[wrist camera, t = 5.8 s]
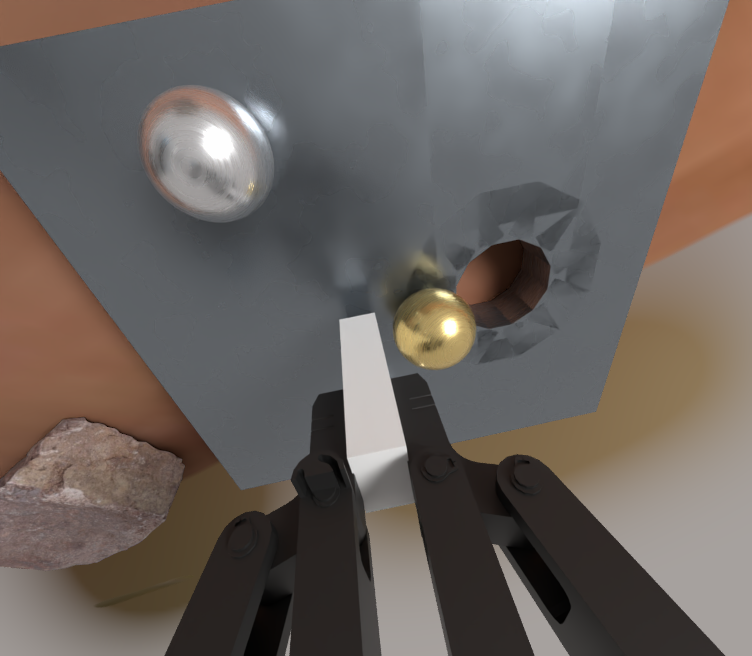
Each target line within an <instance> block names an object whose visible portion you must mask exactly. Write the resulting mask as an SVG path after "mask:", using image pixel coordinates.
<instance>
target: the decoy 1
mask: <svg viewBox="0 0 752 656" xmlns="http://www.w3.org/2000/svg"><path fill="white" fill-rule="evenodd" d="M137 143H138V151H139V156H140V160H141V163H142V166H143V168H144V170H145V172H146V174H147V176H148V178H149V180H150V181H151V183H152V184H153V186H154V187H155V188H156V190H157V191H158V192H159V193H160V194H161V195H162V196H163V197H164V198H165V199H166V200H167V201H168V202H169V203H170V204H172V205H173V206H174V207H176V208H177V209H179V210H180V211H182V212H183V213H185V214H187V215H190V216H192V217H194V218H197V219H200V220H204V221H209V222H217V223H222V222H232V221H236V220H239V219H242V218H244V217H247V216H248V215H250V214H252V213H253V212H254V211H256V210H257V209H258V208H259V207H260V206H261V205H262V204H263V202H264V201H265V200H266V198H267V196H268V194H269V192H270V190H271V187H272V183H273V178H274V158H273V153H272V149H271V146H270V143H269V140H268V138H267V136H266V134H265V132H264V130H263V128H262V127H261V125H260V124H259V122H258V121H257V119H256V118H255V117H254V116H253V114H252V113H251V112H250V111H249V110H248V109H247V108H246V107H245V106H243V105H242V104H241V103H240V102H238V101H237V100H235V99H234V98H232V97H231V96H229V95H227V94H225V93H223V92H221V91H219V90H216V89H213V88H210V87H206V86H201V85H183V86H177V87H174V88H170V89H168V90H166V91H164V92H162V93H161V94H159V95H158V96H157V97H155V98H154V99H153V100H152V101H151V102H150V103H149V104H148V106H147V107H146V109H145V111H144V112H143V115H142V117H141V120H140V123H139V127H138V135H137Z"/></svg>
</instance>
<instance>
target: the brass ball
mask: <svg viewBox="0 0 752 656" xmlns="http://www.w3.org/2000/svg"><path fill="white" fill-rule="evenodd" d="M393 337H394V341H395V344H396V346H397V348H398V350H399V352H400V353H401V354H402V355H403V357H404V358H405V359H407V360H408V361H409V362H410V363H412V364H413V365H415V366H417V367H420V368H423V369H427V370H442V369H446V368H449V367H452V366H454V365H456V364H457V363H459V362H460V361H461V360H463V359H464V358H465V357H466V355H467V354H468V353H469V352H470V350H471V348H472V346H473V344H474V341H475V337H476V322H475V317H474V315H473V312H472V310H471V308H470V307H469V305H468V304H467V303H466V302H465V301H464V300H463V299H462V298H461V297H460V296H458V295H457V294H455V293H453V292H451V291H449V290H446V289H441V288H428V289H423V290H420V291H418V292H415V293H414V294H412V295H410V296H409V297H408V298H407V299H405V300H404V302H403V303H402V304H401V305H400V307H399V308H398V310H397V312H396V314H395V317H394V321H393Z"/></svg>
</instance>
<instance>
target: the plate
mask: <svg viewBox="0 0 752 656" xmlns="http://www.w3.org/2000/svg"><path fill="white" fill-rule="evenodd" d="M728 3H729V0H234V1H229V2H224V3H219V4H214V5H209V6H204V7H198V8H193V9H188V10H183V11H178V12H173V13H168V14H163V15H158V16H153V17H148V18H143V19H138V20H132V21H127V22H122V23H117V24H112V25H107V26H102V27H97V28H92V29H87V30H82V31H77V32H72V33H66V34H61V35H56V36H51V37H46V38H41V39H36V40H31V41H26V42H21V43H16V44H11V45H6V46H0V170H1V172H2V173H3V174H4V176H5V177H6V178H7V180H8V181H9V182H10V184H11V185H12V186H13V188H14V189H15V190H16V192H17V193H18V194H19V196H20V197H21V198H22V200H23V201H24V202H25V203H26V205H27V206H28V207H29V209H30V210H31V211H32V213H33V214H34V215H35V217H36V218H37V219H38V221H39V222H40V223H41V225H42V226H43V227H44V229H45V230H46V231H47V233H48V234H49V235H50V237H51V238H52V239H53V241H54V242H55V243H56V245H57V246H58V247H59V249H60V250H61V251H62V253H63V254H64V255H65V257H66V258H67V259H68V261H69V262H70V263H71V265H72V266H73V267H74V269H75V270H76V271H77V273H78V274H79V275H80V277H81V278H82V279H83V281H84V282H85V283H86V285H87V286H88V287H89V289H90V290H91V291H92V293H93V294H94V295H95V297H96V298H97V299H98V301H99V302H100V303H101V305H102V306H103V307H104V309H105V310H106V311H107V313H108V314H109V315H110V317H111V318H112V319H113V320H114V322H115V323H116V324H117V326H118V327H119V328H120V330H121V331H122V332H123V334H124V335H125V336H126V338H127V339H128V340H129V342H130V343H131V344H132V346H133V347H134V348H135V350H136V351H137V352H138V354H139V355H140V356H141V358H142V359H143V360H144V362H145V363H146V364H147V366H148V367H149V368H150V370H151V371H152V372H153V374H154V375H155V376H156V378H157V379H158V380H159V382H160V383H161V384H162V386H163V387H164V388H165V390H166V391H167V392H168V394H169V395H170V396H171V398H172V399H173V400H174V402H175V403H176V404H177V406H178V407H179V408H180V410H181V411H182V412H183V414H184V415H185V416H186V418H187V419H188V420H189V422H190V423H191V424H192V426H193V427H194V428H195V430H196V431H197V432H198V434H199V435H200V436H201V438H202V439H203V440H204V441H205V443H206V444H207V445H208V447H209V448H210V449H211V451H212V452H213V453H214V455H215V456H216V457H217V459H218V460H219V461H220V463H221V464H222V465H223V467H224V468H225V469H226V470H227V472H228V473H229V475H230V476H231V477H232V479H233V480H234V481H235V483H236V484H237V485H238V487H239V488H240V489H241V490H244V489H248V488H253V487H257V486H262V485H266V484H271V483H276V482H280V481H285V480H289V479H291V477H292V473H293V470H294V469H295V467H296V466H297V464H298V463H299V462H300V461H301V460H302V459H303V458H304V457H306V456H307V455H308V454H310V439H311V422H312V406H313V404H314V402H315V400H316V398H317V397H318V395H319V394H322V393H327V392H332V391H337V390H342V389H343V376H342V358H341V340H340V322H339V320H340V319H345V318H350V317H355V316H360V315H365V314H370V313H375V316H376V320H377V324H378V329H379V333H380V337H381V341H382V346H383V350H384V354H385V358H386V362H387V367H388V371H389V375H390V379H391V378H396V377H401V376H406V375H410V374H415V373H418V374H419V375H420V376H421V377H422V378H423V379H424V380H425V381H426V382H427V383H428V386H429V389H430V391H431V395H432V397H433V400H434V402H435V406H436V408H437V410H438V413H439V416H440V418H441V421H442V424H443V426H444V429H445V432H446V435H447V437H448V440H449V442H450V444H452V443H456V442H460V441H465V440H470V439H474V438H479V437H483V436H488V435H492V434H497V433H501V432H505V431H510V430H515V429H519V428H524V427H528V426H533V425H537V424H542V423H546V422H550V421H555V420H560V419H564V418H569V417H573V416H578V415H582V414H587V413H591V412H596V410H597V407H598V404H599V401H600V397H601V395H602V391H603V388H604V385H605V382H606V379H607V376H608V373H609V370H610V367H611V363H612V360H613V358H614V354H615V351H616V348H617V345H618V342H619V339H620V336H621V332H622V329H623V327H624V323H625V320H626V317H627V314H628V311H629V308H630V305H631V302H632V299H633V296H634V292H635V290H636V287H637V283H638V280H639V277H640V274H641V271H642V268H643V265H644V262H645V259H646V256H647V253H648V249H649V246H650V243H651V240H652V237H653V234H654V231H655V228H656V225H657V222H658V219H659V216H660V212H661V209H662V206H663V203H664V200H665V197H666V194H667V191H668V188H669V185H670V182H671V179H672V175H673V172H674V169H675V166H676V163H677V160H678V157H679V154H680V151H681V148H682V145H683V141H684V138H685V135H686V132H687V129H688V126H689V123H690V120H691V117H692V114H693V111H694V108H695V104H696V101H697V98H698V95H699V92H700V89H701V86H702V83H703V80H704V77H705V74H706V71H707V67H708V64H709V61H710V58H711V55H712V52H713V49H714V46H715V43H716V40H717V37H718V33H719V30H720V27H721V24H722V21H723V18H724V15H725V12H726V9H727V6H728ZM183 85H201V86H206V87H210V88H213V89H216V90H219V91H221V92H223V93H225V94H227V95H229V96H231V97H232V98H234V99H235V100H237V101H238V102H240V103H241V104H242V105H243V106H245V107H246V108H247V109H248V110H249V111H250V112H251V113H252V114H253V116H254V117H255V118H256V119H257V121H258V122H259V124H260V125H261V127H262V128H263V130H264V132H265V134H266V136H267V138H268V140H269V143H270V146H271V149H272V153H273V158H274V178H273V183H272V187H271V190H270V192H269V194H268V196H267V198H266V200H265V201H264V202H263V204H262V205H261V206H260V207H259V208H258V209H257V210H256V211H254V212H253V213H252V214H250V215H248V216H247V217H244V218H242V219H239V220H236V221H232V222H222V223H217V222H209V221H204V220H200V219H197V218H194V217H192V216H190V215H187V214H185V213H183V212H182V211H180V210H179V209H177V208H176V207H174V206H173V205H172V204H170V203H169V202H168V201H167V200H166V199H165V198H164V197H163V196H162V195H161V194H160V193H159V192H158V191H157V190H156V188H155V187H154V186H153V184H152V183H151V181H150V180H149V178H148V176H147V174H146V172H145V170H144V168H143V166H142V163H141V160H140V156H139V151H138V143H137V135H138V127H139V123H140V120H141V117H142V115H143V112H144V111H145V109H146V107H147V106H148V104H149V103H150V102H151V101H152V100H153V99H154V98H155V97H157V96H158V95H159V94H161V93H162V92H164V91H166V90H168V89H170V88H174V87H177V86H183ZM518 239H519V241H520V243H521V244H522V246H523V258H522V268H521V270H520V272H519V273H518V275H517V277H516V278H515V280H514V281H513V283H512V285H511V286H510V288H509V289H507V290H506V291H504V292H503V293H502V294H500V295H499V296H497V297H496V298H494V299H493V300H492V301H488V302H484V303H479V304H474V305H469V307H470V308H471V310H472V312H473V315H474V317H475V322H476V337H475V341H474V344H473V346H472V348H471V350H470V352H469V353H468V354H467V355H466V357H465V358H464V359H463V360H461V361H460V362H459V363H457V364H456V365H454V366H452V367H449V368H446V369H442V370H427V369H423V368H420V367H417V366H415V365H413V364H412V363H410V362H409V361H408V360H407V359H405V358H404V357H403V355H402V354H401V353H400V352H399V350H398V348H397V346H396V344H395V341H394V337H393V321H394V317H395V314H396V312H397V310H398V308H399V307H400V305H401V304H402V303H403V302H404V300H405V299H407V298H408V297H409V296H410V295H412V294H414V293H415V292H418V291H420V290H423V289H428V288H441V289H446V290H449V291H451V292H453V293H455V294H456V286H457V284H458V282H459V280H460V278H461V276H462V274H463V273H464V271H465V269H466V267H467V265H468V263H469V262H470V261H472V260H473V259H474V258H476V257H477V256H478V255H480V254H481V253H482V252H484V251H485V250H486V249H488V248H489V247H490V246H491V245H494V244H499V243H504V242H508V241H513V240H518Z"/></svg>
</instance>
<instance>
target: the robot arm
mask: <svg viewBox="0 0 752 656" xmlns="http://www.w3.org/2000/svg"><path fill="white" fill-rule="evenodd" d="M339 322H340V340H341V358H342V376H343V389H342V390H337V391H332V392H327V393H322V394H319V395H318V397H317V398H316V400H315V402H314V404H313V406H312V422H311V439H310V454H308V455H307V456H306V457H304V458H303V459H302V460H301V461H300V462H299V463H298V464H297V466H296V467H295V469H294V470H293V473H292V477H291V482H292V483H293V485H294V487H295V489H296V491H297V493H298V495H297V496H296V497H295V498H294V499H293V500H292V501H290V502H289V503H287V504H286V505H284V506H282V507H280V508H279V509H277V510H275V511H273V512H271V513H270V514H268V515H265V514H264V513H261V512H257V511H251V512H245V513H243V514H241V515H240V516H238V517H236V518H235V519H234V520H232V521H231V522H230V523H229V524H228V525H227V526H226V527H225V529H224V530H223V532H222V533H221V535H220V537H219V538H218V540H217V543H216V545H215V547H214V549H213V551H212V554H211V556H210V558H209V560H208V562H207V564H206V566H205V569H204V571H203V573H202V575H201V578H200V580H199V582H198V584H197V586H196V588H195V591H194V593H193V595H192V597H191V599H190V601H189V604H188V606H187V608H186V610H185V612H184V614H183V617H182V619H181V621H180V623H179V625H178V627H177V630H176V632H175V634H174V636H173V638H172V641H171V643H170V645H169V647H168V649H167V651H166V654H165V656H285V652H286V648H287V644H288V639H289V636H290V632H291V642H290V655H289V656H381V648H380V638H379V627H378V617H377V608H376V599H375V588H374V578H373V568H372V558H371V548H370V538H369V533H368V529H367V526H366V521H365V511H366V513H368V512H373V511H377V510H382V509H387V508H392V507H397V506H401V505H406V504H411V503H415V505H416V509H417V513H418V519H419V524H420V530H421V536H422V538H423V543H424V547H425V552H426V556H427V561H428V565H429V570H430V574H431V578H432V583H433V588H434V592H435V597H436V602H437V606H438V610H439V615H440V620H441V624H442V629H443V633H444V638H445V642H446V647H447V651H448V656H534V653H533V650H532V648H531V645H530V642H529V640H528V637H527V635H526V632H525V630H524V627H523V624H522V621H521V619H520V617H519V614H518V611H517V608H516V606H515V603H514V600H513V598H512V595H511V593H510V590H509V587H508V585H507V582H506V579H505V577H504V574H503V572H502V569H501V566H500V564H499V561H498V558H497V556H496V553H495V551H494V548H493V545H492V544H496V545H499V546H500V548H501V549H502V551H503V552H504V554H505V556H506V557H507V559H508V560H509V562H510V563H511V565H512V567H513V568H514V570H515V571H516V573H517V574H518V576H519V577H520V579H521V581H522V582H523V584H524V585H525V587H526V588H527V590H528V591H529V593H530V595H531V596H532V598H533V599H534V601H535V602H536V604H537V606H538V607H539V609H540V610H541V612H542V613H543V615H544V616H545V618H546V620H547V621H548V623H549V624H550V626H551V627H552V629H553V630H554V632H555V634H556V635H557V637H558V638H559V640H560V641H561V643H562V645H563V646H564V648H565V649H566V651H567V652H568V654H569V655H570V656H725V655H724V654H723V653H722V652H721V651H720V650H719V649H718V648H717V646H716V645H715V644H714V643H713V642H712V641H711V640H710V639H709V638H708V637H707V636H706V635H705V634H704V633H703V632H702V631H701V629H700V628H699V627H698V626H697V625H696V624H695V623H694V622H693V621H692V620H691V619H690V618H689V617H688V616H687V615H686V613H685V612H684V611H683V610H682V609H681V608H680V607H679V606H678V605H677V604H676V603H675V602H674V601H673V600H672V599H671V598H670V597H669V595H667V593H666V592H665V591H664V590H663V589H662V588H661V587H660V586H659V585H658V584H657V583H656V582H655V580H654V579H653V578H652V577H651V576H650V575H649V574H648V573H647V572H646V571H645V570H644V569H643V568H642V567H641V566H640V565H639V564H638V563H637V561H636V560H635V559H634V558H633V557H632V556H631V555H630V554H629V553H628V552H627V551H626V550H625V549H624V547H623V546H622V545H621V544H620V543H619V542H618V541H617V540H616V539H615V538H614V537H613V536H612V535H611V534H610V533H609V532H608V531H607V529H606V528H605V527H604V526H603V525H602V524H601V523H600V522H599V521H598V520H597V519H596V518H595V517H594V516H593V514H591V512H590V511H589V510H588V509H587V508H586V507H585V506H584V505H583V504H582V503H581V502H580V501H579V500H578V499H577V497H576V496H575V495H574V494H573V493H572V492H571V491H570V490H569V489H568V488H567V487H566V486H565V485H564V484H563V483H562V481H561V480H560V479H559V478H558V477H557V476H556V475H555V474H554V473H553V472H552V471H551V470H550V469H549V468H548V467H547V466H546V465H544V464H543V463H542V462H540V460H538V459H535V458H533V457H530V456H528V455H518V454H517V455H513V456H509V457H507V458H505V459H504V460H503V461H501V462H500V464H499V465H495V464H486V463H478V462H473V461H470V460H468V459H465V458H463V457H462V456H460V455H459V454H458V453H457V452H456V451H455V450H454V449H453V448H452V446H451V444H450V442H449V440H448V437H447V435H446V432H445V429H444V426H443V424H442V421H441V418H440V416H439V413H438V410H437V408H436V406H435V402H434V400H433V397H432V395H431V391H430V389H429V386H428V383H427V382H426V381H425V380H424V379H423V378H422V377H421V376H420V375H419V374H418V373H415V374H410V375H406V376H401V377H396V378H391V379H390V375H389V371H388V367H387V362H386V358H385V354H384V350H383V346H382V341H381V337H380V333H379V329H378V324H377V320H376V316H375V313H370V314H365V315H360V316H355V317H350V318H345V319H340V320H339ZM364 508H365V509H364Z"/></svg>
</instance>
